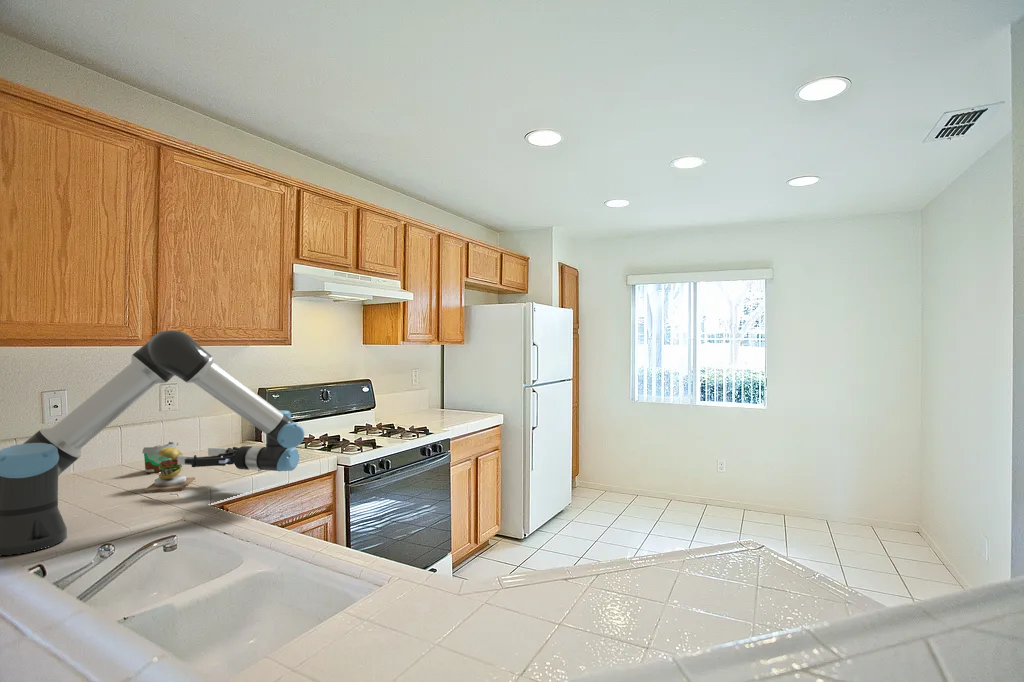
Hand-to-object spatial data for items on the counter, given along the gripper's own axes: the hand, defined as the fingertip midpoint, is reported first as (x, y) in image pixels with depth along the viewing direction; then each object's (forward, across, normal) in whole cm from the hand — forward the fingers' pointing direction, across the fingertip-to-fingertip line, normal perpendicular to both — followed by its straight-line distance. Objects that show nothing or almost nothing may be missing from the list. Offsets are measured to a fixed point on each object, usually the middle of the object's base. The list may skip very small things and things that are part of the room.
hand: (194, 455), depth 181 cm
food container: (+28, +18, -11) cm, 35 cm away
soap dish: (+9, 0, -11) cm, 14 cm away
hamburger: (+9, 0, -8) cm, 12 cm away
